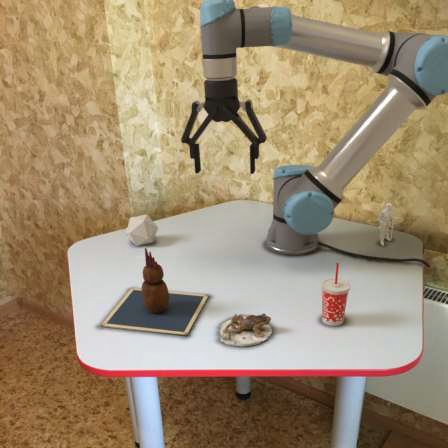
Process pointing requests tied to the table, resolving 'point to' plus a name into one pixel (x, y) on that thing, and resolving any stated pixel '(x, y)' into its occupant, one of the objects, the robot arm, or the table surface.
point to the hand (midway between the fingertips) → (225, 172)
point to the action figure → (385, 223)
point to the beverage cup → (334, 299)
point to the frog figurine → (245, 330)
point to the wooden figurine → (154, 286)
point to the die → (141, 230)
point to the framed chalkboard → (157, 322)
